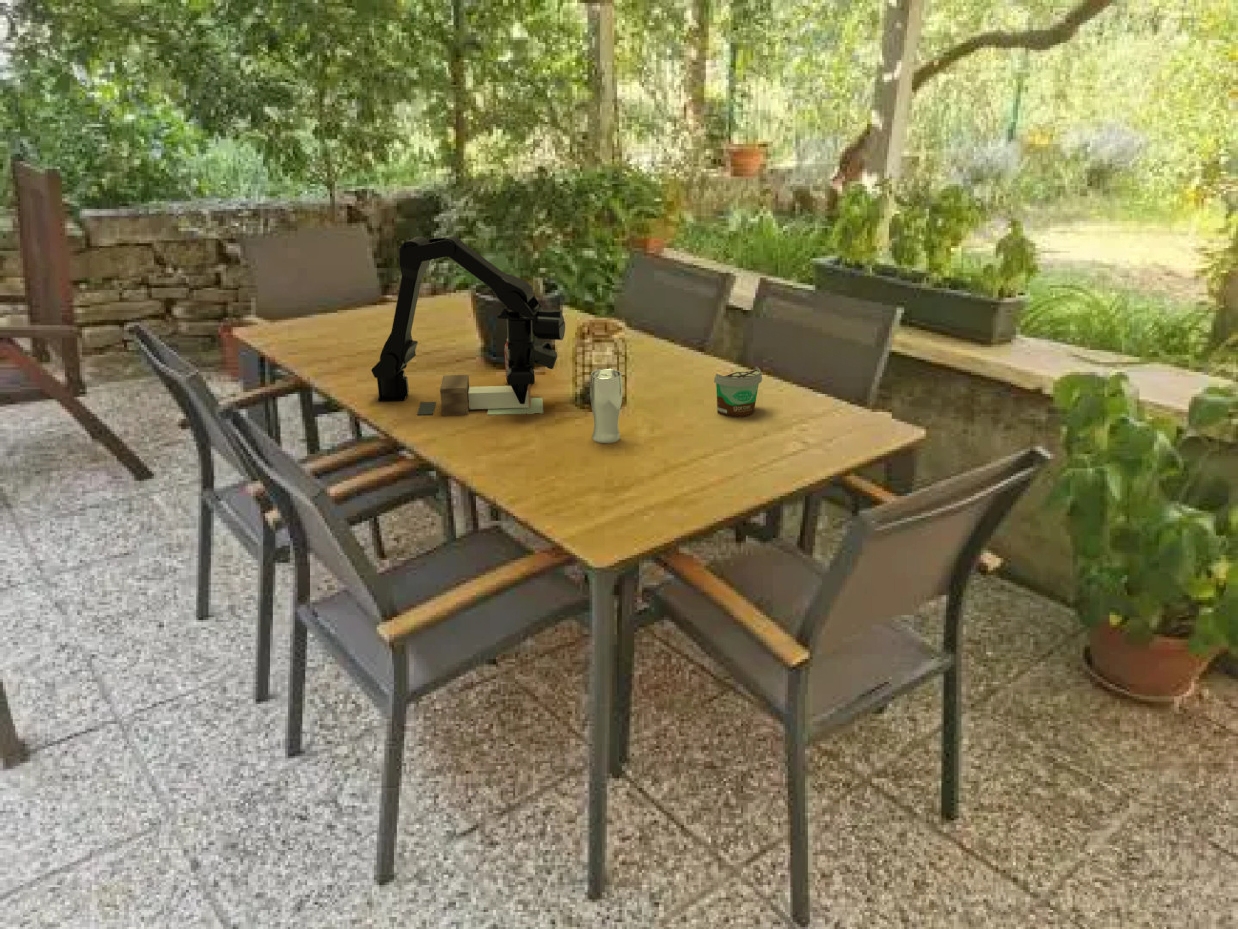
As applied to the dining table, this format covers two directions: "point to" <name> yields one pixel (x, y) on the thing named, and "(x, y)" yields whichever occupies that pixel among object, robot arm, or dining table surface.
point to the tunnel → (454, 394)
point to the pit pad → (426, 408)
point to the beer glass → (606, 404)
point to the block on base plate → (496, 397)
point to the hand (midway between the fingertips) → (522, 400)
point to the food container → (737, 393)
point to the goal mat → (535, 408)
